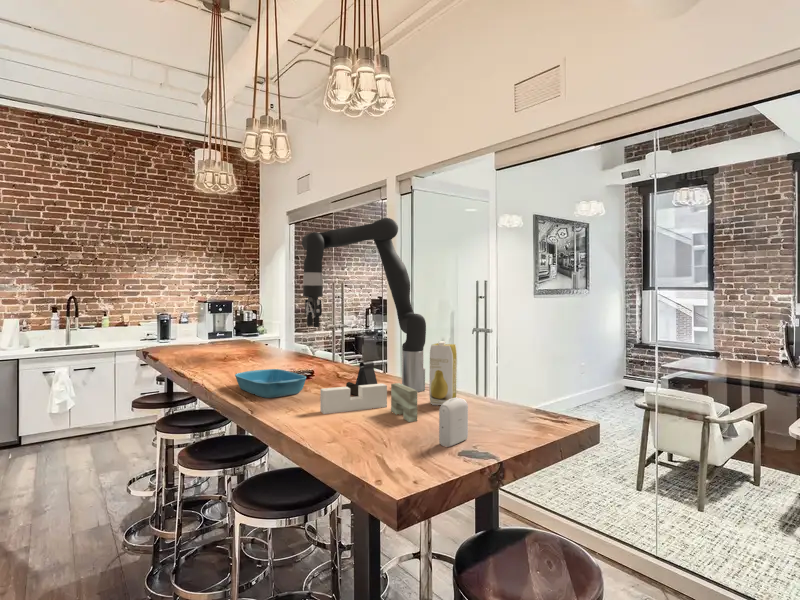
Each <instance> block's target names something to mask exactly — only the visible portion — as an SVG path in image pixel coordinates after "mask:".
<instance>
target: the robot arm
mask: <svg viewBox="0 0 800 600" xmlns="http://www.w3.org/2000/svg"><path fill="white" fill-rule="evenodd" d="M398 232H399V225H398V223H397V221H396V220H394V219H393V218H389V217H383V218H381V219H377V220H375V221H374V222H372V223H368V224H362V225H356V226H348V227H339V228H335V229H330V230H326V231H323V232H316V231H313V232H310V233H308V234H306V235H304V236H303V237H302V240H301V246H302V247H303V248H302V249H303V250H305V251H306V252H305V253H306V254H305V258H304V260H303V276H302V296H303V297H304V298H307V299H304V315H306V316H305V317H306V326H308V327H312V326H313V328H319V327H320V318H321V316H322V313H323V312H322V310H323V309H322V307H323V305H322V299H319V298H322V297H323V296H324V295H323V294H324V293H323V291H324V277H323V259H324V258H323V257H324V252H325V250H326V249H329V248H330V249H331V248H339V247H344V246H349V245H353V244H356V243H361V242H365V241H370V240H373V242H374V243H375V246H376V249H377V251H378V253H379V256H380V260H381V264H382V267H383V269H384V274H385V277H386V281H387V283H388V286H389V290H390V293H391V297H392V300H393V302H394V305H395V309H396V315H397V319H398V325H399V329H400V330H401V331H402V332H403V333H404V334H406V339H405V341H404V342H403V343H402V344H401V345H402V346H401V358H402V359H401V384H402V385H405V386H407V387H410V388H412V389H414V390H417V393H420V392H422V391H425V390H426V368H425V367H424V347H425V345H426V337H427V336H426V335H427V322H426V319H425V317H424V316H423V315H422V314H419V313H415V312H414V308H413V307H412V303H411V280H410V277H409V273H408V271H407V270H408V269H407V267H406V265H405V264H404V262H403V260H402V259H401V258H400V256H399V254H398V253H397V251H396V249H395V247H394V244H393V239H394V238H395V237H397V236H398V235H397V234H398Z"/></svg>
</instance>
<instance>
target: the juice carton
mask: <svg viewBox="0 0 800 600" xmlns="http://www.w3.org/2000/svg"><path fill="white" fill-rule="evenodd" d="M429 349H430V350H429V387H428V388H429V403H430V405H431V404H432V405H431V406H438V405H442V404H443V403H444V402H446V401H447V400H449V399H452V398H457V388H458V387H457V382H458V381H457V380H458V379H457V375H458V374H457V373H458V372H457V370H458V369H457V368H458V363H457V362H458V358H457V357H458V355H457V354H458V353H457V346H456V344H455V343H449V344H448V343H447V344H446V341H445V340H441V341H438V343H433V344H431V345H430V348H429Z"/></svg>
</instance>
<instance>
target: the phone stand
mask: <svg viewBox="0 0 800 600" xmlns="http://www.w3.org/2000/svg"><path fill="white" fill-rule="evenodd" d="M374 366H375V362H374V361H373V360H366V361H360V363H359V365H358V367H359V368H358V369H359V370H358V374H357V378H356V381H355V383H354V384H355V385H356V386H357V387H358V386H359V385H370V384H378V380H377V376H376V372H375V367H374Z"/></svg>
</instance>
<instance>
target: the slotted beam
mask: <svg viewBox="0 0 800 600" xmlns="http://www.w3.org/2000/svg"><path fill="white" fill-rule="evenodd" d="M319 394H320V396H319V398H320V399H319V400H320V401H319V402H320V406H319V407H320V412H321V413H322V415H327V414H337V413H345V412H355V411H365V410H371V409H372V408H373V409H379V408H380V409H381V407H382V408H387V407H388V385H387V384H385V383H383V382H382V383H377V384H370V385H359V386H358V396H351V394H350V388H348V387H346V386H340V387H339V386H338V387H327V388H320V393H319Z"/></svg>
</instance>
